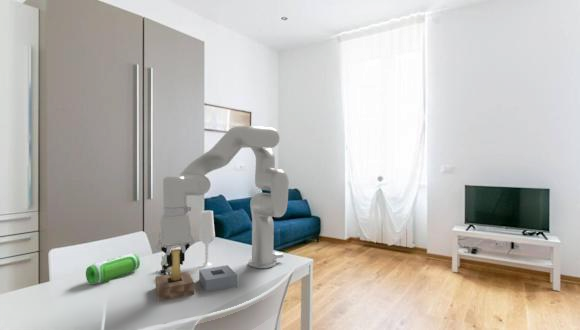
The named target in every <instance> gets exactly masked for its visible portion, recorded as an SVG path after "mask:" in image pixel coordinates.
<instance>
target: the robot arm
mask: <svg viewBox="0 0 580 330" xmlns="http://www.w3.org/2000/svg"><path fill="white" fill-rule="evenodd" d="M279 143H280V134H279V131H278V130H277V129H275V128H273V127H267V126H266V127H265V126H254V125H240V126H233V127H231V128H230V129H228V130H227V131H226V132H225V134H224V135H222V137H221V138H220V139H219V140H218V141H217V143H215V145H214V146H212V147H211V148H210V150H208V151H206V152H205V153H204V154H202V155H200V156H199V157H197V158H196V159H195V160H193V161H191V162H190V163H189V164H188V165H187V166H186V168H185V167H184V169H183V170H182V171H181V173H180V174H179V175H178V174H177V175H166V176H165V177H164V178H163V179H162V192H163V193H162V199H163V200H162V202H163V203H162V204H163V205H162V206H163V207H162V210H163V212H162V213H163V215H160V218H159V219H160V220H159V229H158V232H159V233H158V238H157V241H156V243H155V245H154V248H155V249H156V250H159V251H161V252H162V253H164V254H167V264H169V266H170V267H171V266H172V255H171V250H172V249H171V248H172V247H173V246H178V245H179V247H180V266H181V265H182V266H183V265H184V262H185V253H186V251H188V249H189V248H190V247H191V246H193V245H194V244H196V241H195V239H194V237H193V236H192V227H191V220H190V215H189V213H188V212H190V211H192V207H191V206H187V205H188V203H187V201H188V199H187V198H188V197H187V196H196V197H197V196H204V195H205V194H206V193H208V192H209V191H210V189H211V184H212V183H211V181H210V178H208V176H205V175H207V174H208V173H210V172H212V171H216V170H219V169H222V168H223V167H226V166H227V165H228V164H230V162H231V161H232V160H233V159H234V157H235V156H236V155H237V154H238V153H239V152H240V151H241V149H242V148H243V149H245V148H250V149H251V150H252V152H253V154H254V156H255V170H254V171H255V173H254V184H255V186H256V188H257V189H259V190H263V191H270V193H268V192H258V193H255V194H253V196H252V197H251V199H250V203H249V207H250V214H251V219H252V220H251V225H252V226H251V227H252V229H251V258H250V259H249V260H248V262H247V264H248V265H249V267H250V268H255V269H268V268H273V267H275V266H276V265H277V263H278V262H277V259H280V258H283V257H284V253H282V252H280V253H279V252H274V236H275V235H274V231H275V230H274V229H275V227H274V226H275V224H274V219H273V217H274V218H281V217H283V216H284V215H285V214H286V213H287V210H288V209H287V208H288V200H289V177H288V174H287V173H286V172H285V170H283V169H279V168H275V167H276V157H275V153H274V151H273V148H275V147H276V146H278V144H279Z"/></svg>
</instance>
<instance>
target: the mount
mask: <svg viewBox="0 0 580 330" xmlns="http://www.w3.org/2000/svg"><path fill="white" fill-rule="evenodd" d="M155 290H156V294H157V298H158V301H159V302H161V301H165V300H166V301H167V300H172V299H177V298H182V297H187V296H192V295H195V281H194V279H193V278H192V276H191V273H190V272H189V271H182V272H180V279H179V280H176V281H173V280H171V273H170V274H169V275H168V274H167V275H164V274H163V275H158V276H155Z"/></svg>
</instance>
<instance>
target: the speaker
mask: <svg viewBox="0 0 580 330" xmlns="http://www.w3.org/2000/svg"><path fill="white" fill-rule="evenodd" d="M140 261H141V260H140V258H139V256H138V255H137V254H135V253H128V254H124V255H121V256H118V257H114V258H111V259H106V260H104V261H99V262H96V263H93V264H91V265H89V266H88V267H87V268H86V270H85V278H86V281H87V283H89V285H96V284H97V285H98V284H102V283H107V282H110V281H113V280H116V279H119V278H123V277H124V276H127V275H129V274H131V273H133V272H135V271H137V270H138V269H139V267H140V264H141V263H140Z"/></svg>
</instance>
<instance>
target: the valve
mask: <svg viewBox="0 0 580 330" xmlns="http://www.w3.org/2000/svg"><path fill="white" fill-rule="evenodd" d="M160 265H161V270H160V274H163V275H169V274H171V267H170V266H169V264H167V254H165V253H164V254H162V255H161V262H160ZM166 272H167V273H166Z"/></svg>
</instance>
